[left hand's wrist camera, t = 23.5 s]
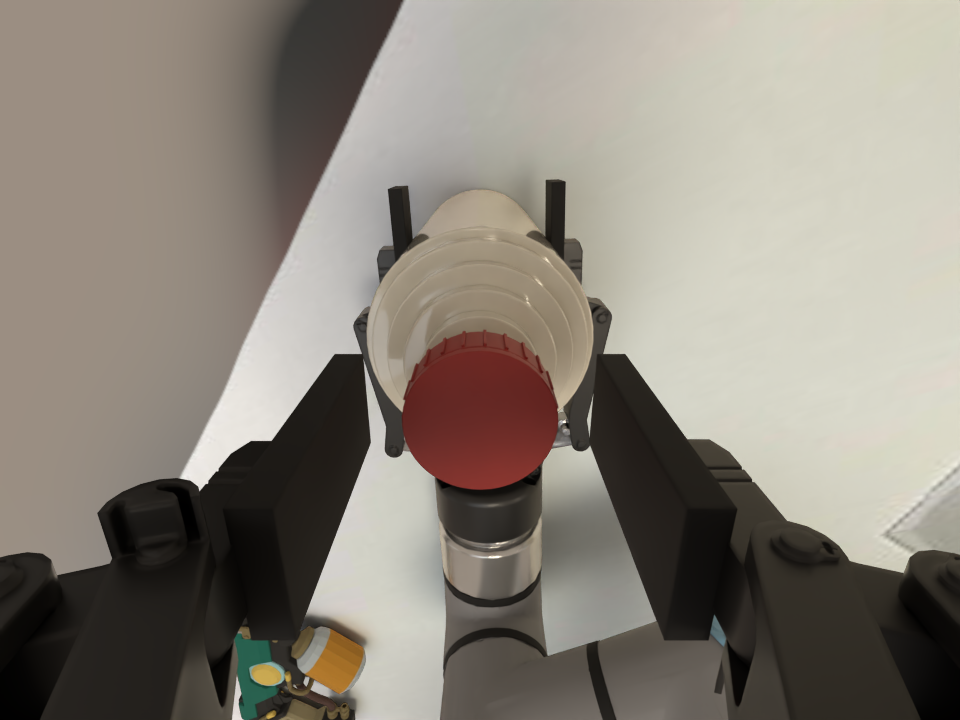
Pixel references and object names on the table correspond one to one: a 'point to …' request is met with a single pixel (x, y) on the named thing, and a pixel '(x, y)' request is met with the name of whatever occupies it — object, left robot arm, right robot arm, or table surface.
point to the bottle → (480, 294)
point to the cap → (480, 411)
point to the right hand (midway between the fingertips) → (476, 184)
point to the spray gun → (296, 674)
